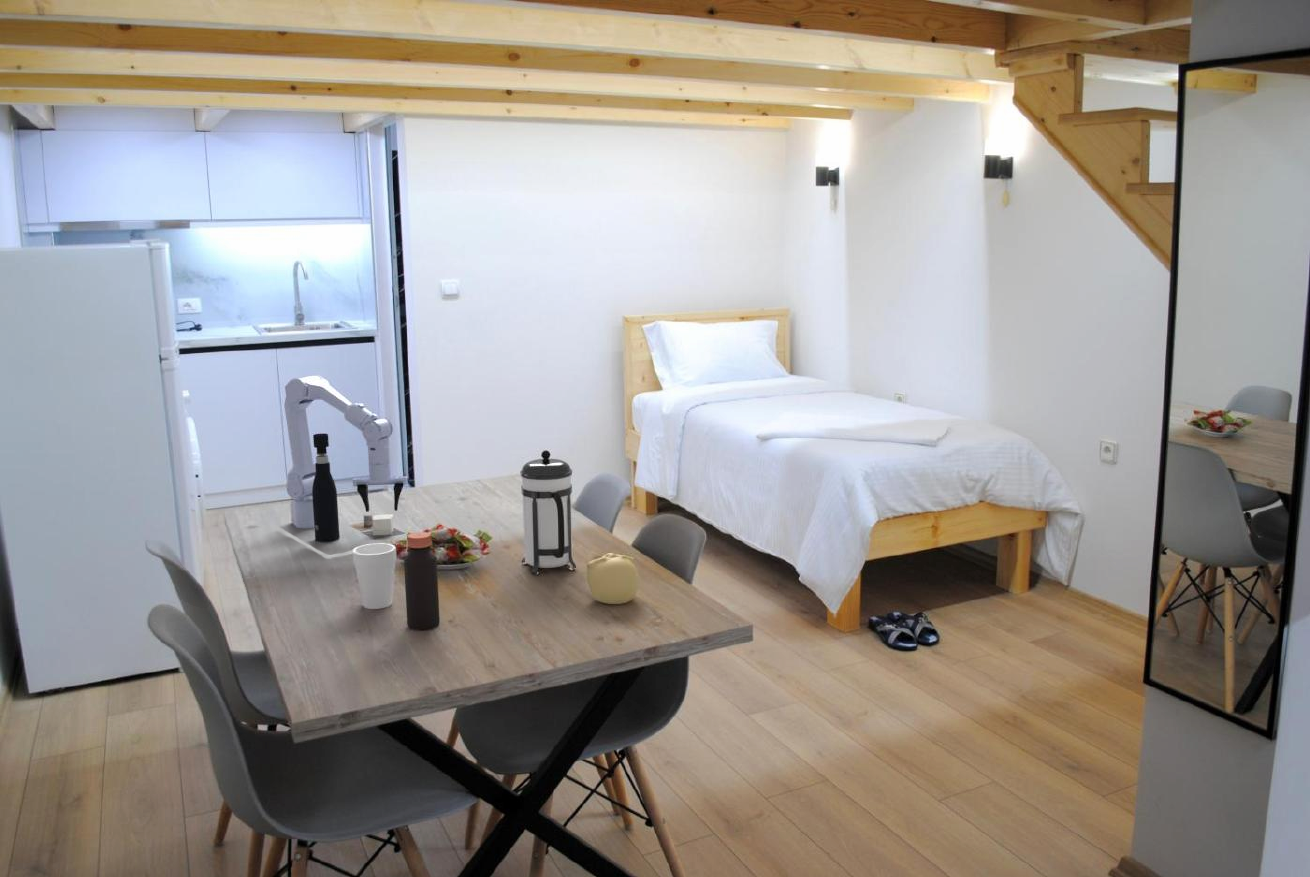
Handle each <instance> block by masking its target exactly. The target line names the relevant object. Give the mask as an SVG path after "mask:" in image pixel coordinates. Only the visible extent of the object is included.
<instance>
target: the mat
mask: <svg viewBox="0 0 1310 877" xmlns="http://www.w3.org/2000/svg"><path fill="white" fill-rule="evenodd" d="M360 532H361V534H364V535H366V536H368V537H369V538H372V539H373V540H378V539H382V538H383V539H384V538H388V537H389V538H390V537H393V536H394V537H395V536H399V535H405V534H406V533H405V532H404V531H401V530H399V529H397V528H395V527H394V530H393V533H392V535H373V529H370V530H365V531H360Z"/></svg>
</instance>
